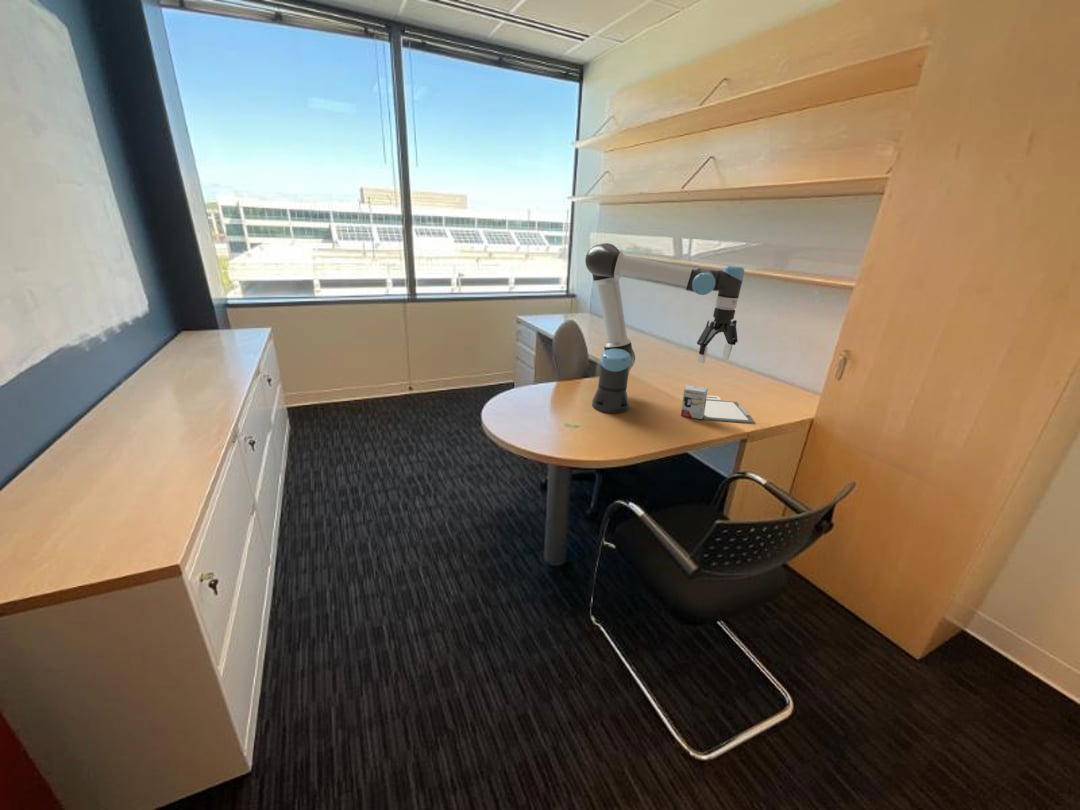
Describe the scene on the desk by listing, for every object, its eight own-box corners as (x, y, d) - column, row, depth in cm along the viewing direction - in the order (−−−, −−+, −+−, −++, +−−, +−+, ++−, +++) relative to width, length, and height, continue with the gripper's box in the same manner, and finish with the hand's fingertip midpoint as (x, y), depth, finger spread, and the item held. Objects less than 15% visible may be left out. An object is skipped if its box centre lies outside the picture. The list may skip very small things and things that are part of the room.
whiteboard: (703, 419, 177) (704, 417, 176) (690, 399, 197) (691, 397, 196) (754, 423, 176) (755, 420, 175) (736, 403, 196) (736, 400, 196)
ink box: (680, 415, 179) (683, 388, 175) (682, 411, 183) (685, 384, 179) (702, 419, 176) (706, 391, 171) (704, 415, 180) (708, 387, 175)
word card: (703, 399, 198) (703, 398, 198) (700, 395, 203) (700, 394, 203) (721, 400, 198) (721, 399, 198) (718, 396, 202) (718, 395, 202)
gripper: (709, 310, 161) (697, 366, 169) (755, 309, 172) (742, 361, 181) (694, 306, 167) (683, 360, 175) (739, 305, 178) (727, 355, 187)
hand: (713, 360), depth 178 cm, fingers open, 13 cm apart
